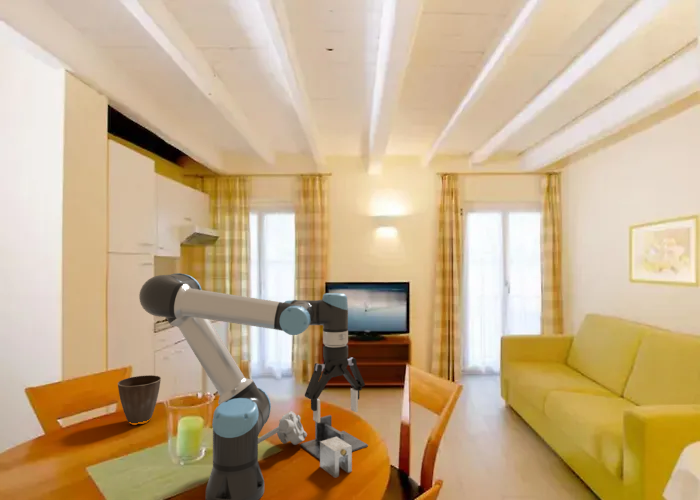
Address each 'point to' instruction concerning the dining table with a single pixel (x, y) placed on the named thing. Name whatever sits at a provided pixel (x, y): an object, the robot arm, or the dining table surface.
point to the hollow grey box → (335, 456)
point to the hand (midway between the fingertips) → (336, 416)
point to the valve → (288, 430)
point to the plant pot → (139, 397)
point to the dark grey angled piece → (327, 432)
